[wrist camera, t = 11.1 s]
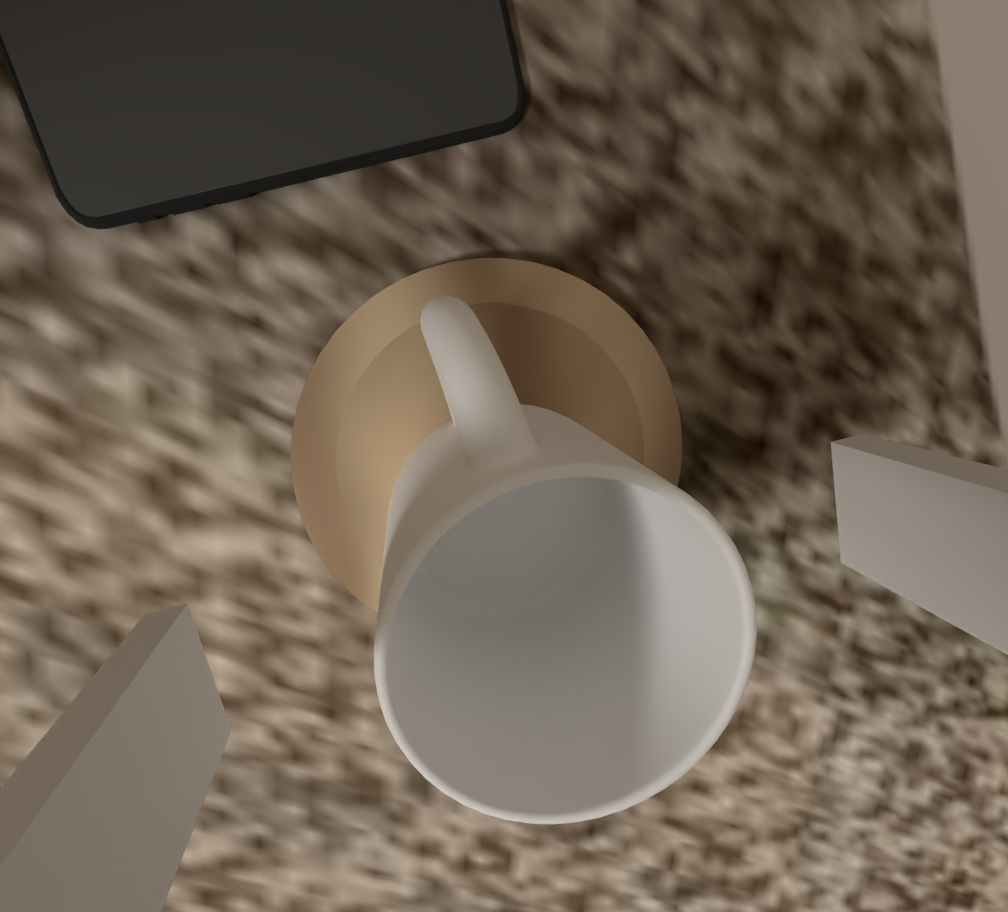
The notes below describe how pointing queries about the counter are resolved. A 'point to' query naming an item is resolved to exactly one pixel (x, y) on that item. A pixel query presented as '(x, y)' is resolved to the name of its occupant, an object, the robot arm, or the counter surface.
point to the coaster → (423, 406)
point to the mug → (549, 605)
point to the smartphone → (247, 93)
